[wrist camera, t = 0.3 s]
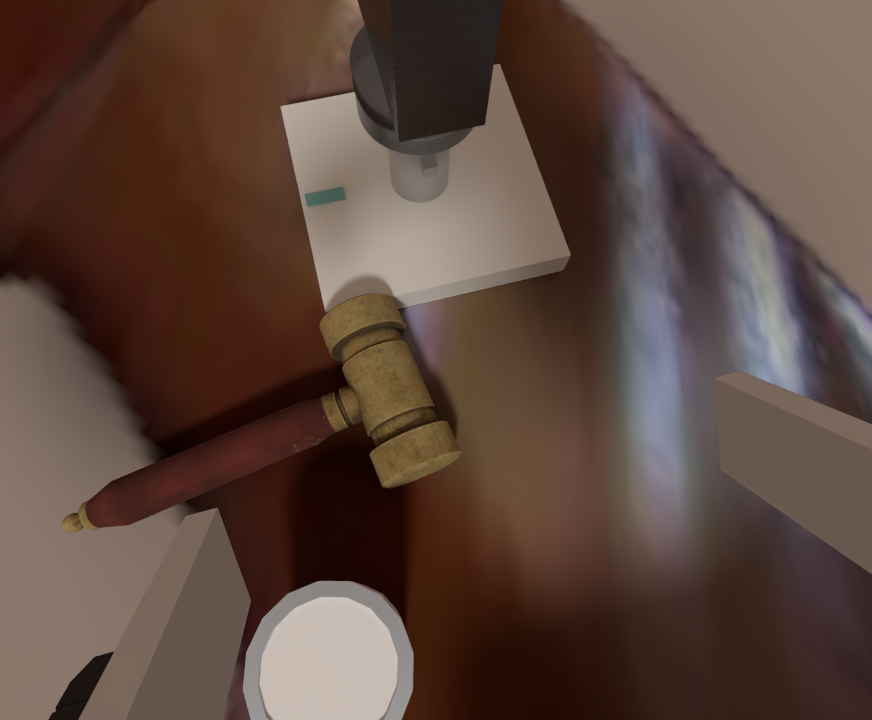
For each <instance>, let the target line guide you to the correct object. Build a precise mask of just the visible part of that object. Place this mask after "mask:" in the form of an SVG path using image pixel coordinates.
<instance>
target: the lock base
mask: <svg viewBox="0 0 872 720" xmlns="http://www.w3.org/2000/svg"><path fill="white" fill-rule="evenodd" d="M281 111H282V115H283V120H284V125H285V129H286V134H287V138H288V143H289V147H290V152H291V157H292V161H293V166H294V170H295V175H296V180H297V184H298V189H299V193H300V198H301V202H302V207H303V212H304V216H305V221H306V225H307V230H308V235H309V239H310V244H311V248H312V253H313V257H314V262H315V267H316V271H317V276H318V280H319V285H320V290H321V294H322V299H323V303H324V308H325V312H326V314H327V313H328V312H329V311H330V310H332V309H333V308H334V307H336V306H337V305H339V304H340V303H342V302H344V301H346V300H349V299H351V298H354V297H356V296H360V295H364V294H370V293H380V294H387V295H390V296H391V297H393V299H394V301H395V303H396V305H397V308H398V309H400V308H405V307H409V306H413V305H418V304H422V303H426V302H430V301H435V300H439V299H443V298H448V297H452V296H456V295H461V294H465V293H469V292H473V291H478V290H482V289H486V288H491V287H495V286H499V285H503V284H508V283H512V282H516V281H521V280H525V279H529V278H533V277H538V276H542V275H546V274H551V273H555V272H559V271H563V270H564V268H565V266H566V264H567V262H568V260H569V258H570V256H571V254H570V251H569V249H568V246H567V243H566V241H565V238H564V235H563V233H562V230H561V227H560V225H559V222H558V219H557V216H556V214H555V211H554V208H553V206H552V203H551V200H550V198H549V195H548V192H547V190H546V187H545V184H544V182H543V179H542V176H541V173H540V171H539V168H538V165H537V163H536V160H535V157H534V155H533V152H532V149H531V147H530V144H529V141H528V138H527V136H526V133H525V130H524V128H523V125H522V122H521V120H520V117H519V114H518V112H517V109H516V106H515V104H514V101H513V98H512V95H511V93H510V90H509V87H508V85H507V82H506V79H505V77H504V74H503V71H502V69H501V66H500V64H496V65H493V72H492V79H491V86H490V93H489V100H488V107H487V114H486V121H485V125H482V126H477V127H473V129H472V131H471V132H470V133H469V134H468V136H467V137H465V138H464V139H463V140H462V141H461V142H460V143H458V144H457V145H455V146H453V147H451V148H450V149H447V150H445V151H442V152H439V153H435V154H429V155H408V154H403V153H399V152H396V151H393V150H390V149H388V148H386V147H384V146H382V145H381V144H379V143H378V142H377V141H375V140H374V139H373V138H372V137H371V136H370V135H369V134H368V133H367V132H366V130H365V129H364V127H363V125H362V124H361V121H360V119H359V116H358V110H357V104H356V98H355V92H352V93H347V94H342V95H337V96H332V97H326V98H321V99H316V100H311V101H306V102H301V103H296V104H290V105H285V106H281Z"/></svg>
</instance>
